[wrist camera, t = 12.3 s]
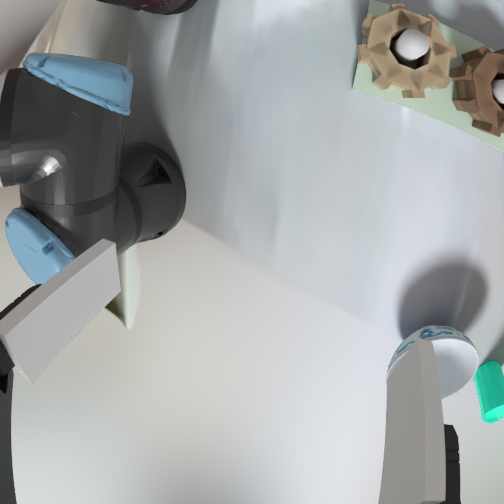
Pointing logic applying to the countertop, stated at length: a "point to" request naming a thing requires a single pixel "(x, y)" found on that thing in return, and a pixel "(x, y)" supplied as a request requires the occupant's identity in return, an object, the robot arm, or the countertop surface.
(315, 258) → the countertop surface
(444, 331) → the chinaware
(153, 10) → the camera lens
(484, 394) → the candle
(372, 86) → the gear board
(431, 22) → the maple gear
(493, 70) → the walnut gear
